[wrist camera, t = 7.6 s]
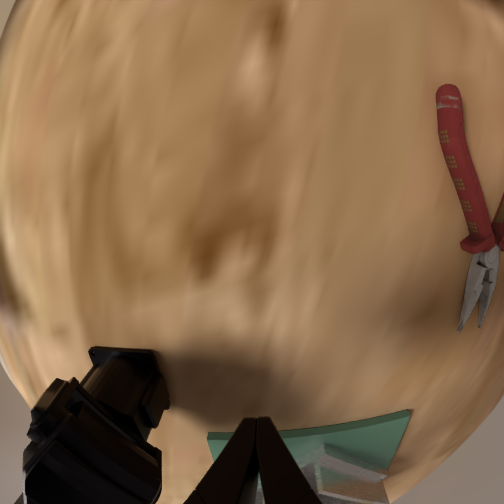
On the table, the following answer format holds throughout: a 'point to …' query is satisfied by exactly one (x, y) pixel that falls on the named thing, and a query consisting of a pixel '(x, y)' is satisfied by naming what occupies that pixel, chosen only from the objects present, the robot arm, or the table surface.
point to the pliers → (470, 206)
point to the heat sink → (340, 477)
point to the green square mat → (340, 438)
